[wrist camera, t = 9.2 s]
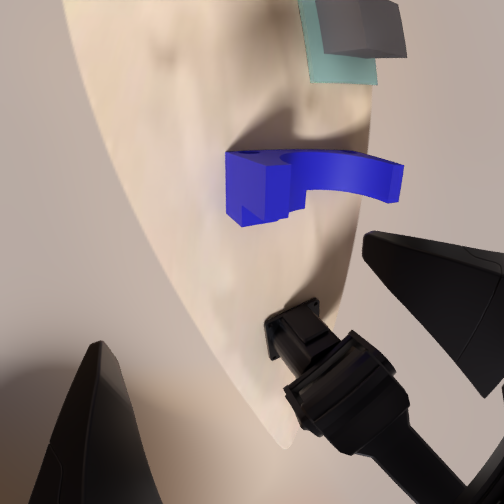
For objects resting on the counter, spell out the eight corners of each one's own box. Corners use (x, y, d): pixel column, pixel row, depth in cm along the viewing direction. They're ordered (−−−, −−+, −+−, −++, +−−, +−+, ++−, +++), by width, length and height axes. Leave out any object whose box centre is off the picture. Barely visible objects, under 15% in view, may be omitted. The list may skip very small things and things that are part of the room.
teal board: (373, 85, 20) (377, 85, 20) (310, 82, 18) (314, 82, 17) (359, -6, 15) (363, -7, 14) (292, -23, 12) (295, -26, 12)
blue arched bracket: (225, 212, 20) (263, 246, 15) (224, 151, 18) (265, 165, 13) (346, 196, 25) (394, 219, 20) (351, 150, 23) (404, 165, 18)
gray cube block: (366, 58, 18) (407, 57, 14) (324, 53, 16) (366, 48, 13) (358, 11, 15) (397, 4, 12) (314, 0, 14) (355, -13, 10)
